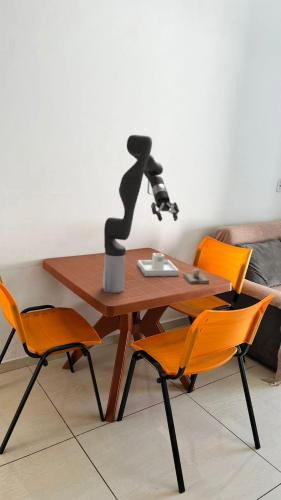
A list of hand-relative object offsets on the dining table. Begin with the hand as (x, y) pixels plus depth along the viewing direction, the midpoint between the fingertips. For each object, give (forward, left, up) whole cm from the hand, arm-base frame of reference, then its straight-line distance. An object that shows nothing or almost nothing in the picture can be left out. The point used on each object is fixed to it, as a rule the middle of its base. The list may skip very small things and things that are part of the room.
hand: (168, 220), depth 194 cm
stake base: (+14, -11, -29) cm, 34 cm away
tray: (-2, +5, -29) cm, 29 cm away
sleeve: (-2, +5, -28) cm, 28 cm away
